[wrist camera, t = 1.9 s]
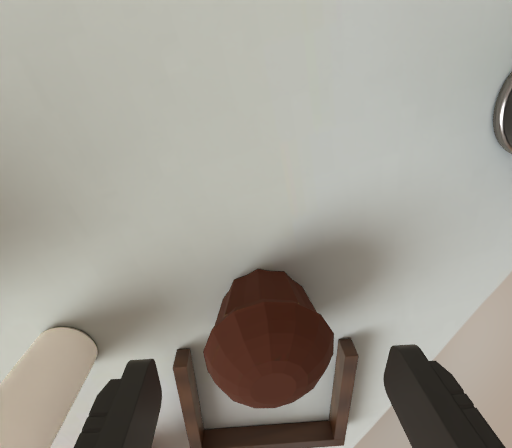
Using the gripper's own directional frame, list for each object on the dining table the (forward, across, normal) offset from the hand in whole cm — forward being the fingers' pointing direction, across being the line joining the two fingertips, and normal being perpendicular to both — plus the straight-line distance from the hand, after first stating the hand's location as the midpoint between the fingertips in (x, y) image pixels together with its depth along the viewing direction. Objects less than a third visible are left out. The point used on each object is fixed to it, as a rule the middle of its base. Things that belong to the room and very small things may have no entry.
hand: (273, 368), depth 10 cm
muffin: (+18, -1, +13) cm, 22 cm away
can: (+18, +21, +18) cm, 33 cm away
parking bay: (+18, -1, +27) cm, 32 cm away
